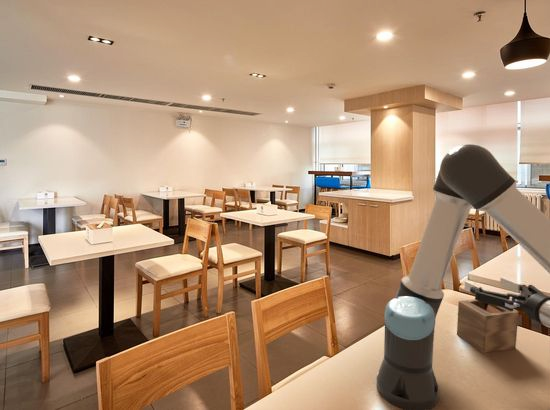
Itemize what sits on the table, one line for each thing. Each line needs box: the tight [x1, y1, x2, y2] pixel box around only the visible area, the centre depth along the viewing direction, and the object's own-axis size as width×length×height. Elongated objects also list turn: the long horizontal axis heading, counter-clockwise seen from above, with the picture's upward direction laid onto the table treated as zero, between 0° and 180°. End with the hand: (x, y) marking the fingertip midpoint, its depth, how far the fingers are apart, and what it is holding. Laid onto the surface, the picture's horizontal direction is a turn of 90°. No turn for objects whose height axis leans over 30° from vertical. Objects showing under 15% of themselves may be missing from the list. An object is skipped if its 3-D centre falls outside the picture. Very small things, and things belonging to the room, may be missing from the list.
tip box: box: [456, 298, 519, 353], centre depth 107 cm, size 12×11×12 cm
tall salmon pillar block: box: [486, 305, 502, 313], centre depth 107 cm, size 3×5×10 cm, turn 9°
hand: (483, 283), depth 108 cm, fingers open, 13 cm apart
